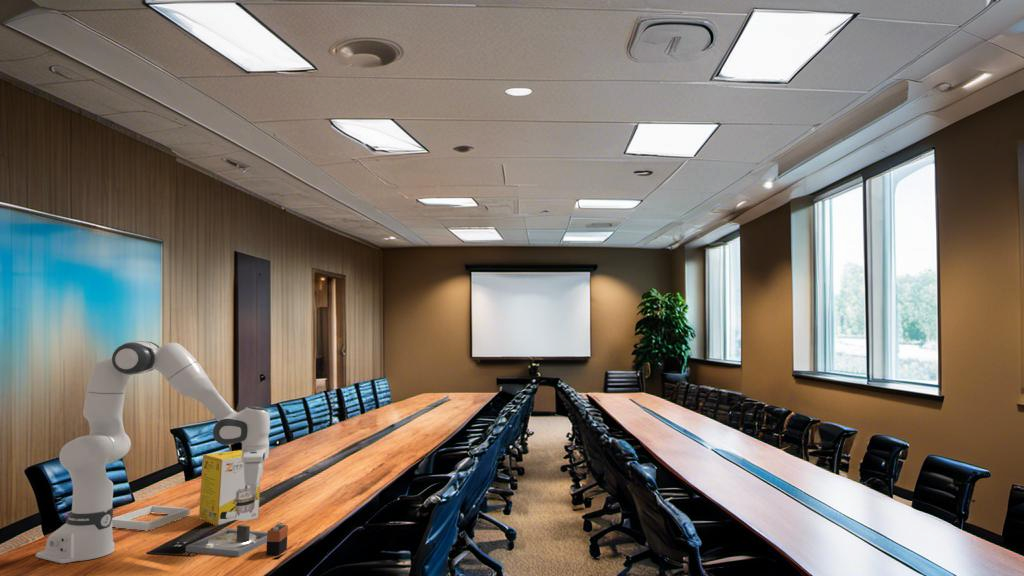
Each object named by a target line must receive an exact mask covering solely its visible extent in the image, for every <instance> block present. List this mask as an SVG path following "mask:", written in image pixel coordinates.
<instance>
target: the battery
mask: <svg viewBox="0 0 1024 576" xmlns="http://www.w3.org/2000/svg"><path fill="white" fill-rule="evenodd" d="M288 530H289V526H288V525H287V524H284V523H283V522H278V523H277V522H276V525H274V526H273V527H271V528H269V529H268V530H267V531H266V532H267V543H266V552H265V553H266V555H265V556H267V557H268V556H270V557H271V556H272V557H273V558H272V560H279V559H281V558H282V557H283V556H284V555H285V553H284V552H285V551H287V549H288V533H289V532H288Z"/></svg>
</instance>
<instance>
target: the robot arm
mask: <svg viewBox="0 0 1024 576" xmlns="http://www.w3.org/2000/svg"><path fill="white" fill-rule="evenodd" d="M154 370H156V371H158V372H159V373H161V375H162V377H164V379H165V380H166V381H167V383H168V384H169V385H170V386H171V387H172V389H174V390H175V391H176V392H177V393H178V394H180V395H181V396H184V397H186V398H190V399H194V400H196V401H198V402H200V403H201V404H203V406H205V408H206V409H207V410H208V411H209V412H210V414H211V415H212V416H213V418H215V419H216V420H217V422H216V423H215V425H214V426H213V429H212V437H213V439H214V441H215V442H216V443H217V444H220V445H223V446H230V445H234V444H239V443H241V450H242V462H243V463H244V480H245V485H246V486H250V494H256V492H257V485H258V481H259V479H260V477H262V475H263V473H264V463H265V460H266V459H268V458H269V455H270V440H269V435H270V431H271V418H270V412H269V410H267V408H265V407H262V406H257V405H256V406H255V405H253V406H252V405H249V406H246V407H245V408H244V409H242V410H240V411H237V410H236V409H234V408H233V407H232V406H231V405H230V403H229V402H228V401H227V400H226V399H225V398H224V397H223V396H222V395H221V393H220V392H219V391H218V390H217V388H216V387H215V386H214V384H213V383H212V381H211V379H210V377H209V376H208V375H207V373H206V372H205V370H204V368H203V367H202V366H201V364H200V363H199V361H198V360H197V359H196V358H195V357H194V356H193V354H192V353H190V352H189V351H188V350H187V349H186V348H185V347H184V346H183V345H181V343H178V342H176V341H175V342H173V341H172V342H168V343H165V344H163V345H161V346H159V345H157V343H154V342H152V341H145V340H135V341H132V342H130V341H129V342H125V343H123V344H122V345H120V346H118V347H117V348H116V349H115V350H114V352H113V353H112V356H111V358H104V359H101V360H98V361H96V362H95V364H94V365H93V367H92V370H91V372H90V374H89V375H90V376H89V379H88V382H87V386H86V391H85V398H84V405H83V409H82V414H83V417H84V419H86V420H87V422H88V425H89V434H87V435H82V436H79V437H76V438H74V439H72V440H70V441H69V442H67V443H65V444H64V445H63V446H62V448H61V449H60V452H59V458H58V459H59V462H60V465H61V466H62V467H63V469H65V470H67V472H68V473H69V476H70V479H71V483H72V502H71V504H72V505H71V511H69V512H67V513H64V517H63V518H67V519H66V521H65V523H64V524H63V525H61V526H60V527H59V528H58V529H56V530H55V531H53V532H52V533H51V534H49V536H48V538H47V540H46V542H45V543H46V544H45V548H43V549H42V550H40V551H37V552H36V553H35V557H36V558H39V559H43V560H48V561H49V562H55V563H59V564H67V563H72V562H73V563H74V562H78V561H79V562H82V561H88V560H93V559H98V558H101V557H106V556H107V555H108V556H109V555H110V554H112V553H114V552H115V550H116V549H115V542H114V538H113V537H114V535H113V534H114V533H113V530H114V528H112V522H111V521H112V518H114V506H113V496H114V486H115V485H114V483H113V481H112V480H111V479H109V477H108V474H107V470H106V466H107V465H109V464H112V463H115V462H118V461H119V460H120V459H122V458H123V457H125V456H126V455H127V454H128V453H129V452H130V450H131V446H132V442H131V438H130V437H129V435H128V434H127V433H126V431H125V428H124V427H125V426H124V421H123V412H124V402H125V397H126V390H127V389H126V388H127V384H128V380H129V379H130V377H131V376H132V375H140V374H144V373H147V372H151V371H154ZM260 480H261V479H260Z"/></svg>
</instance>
